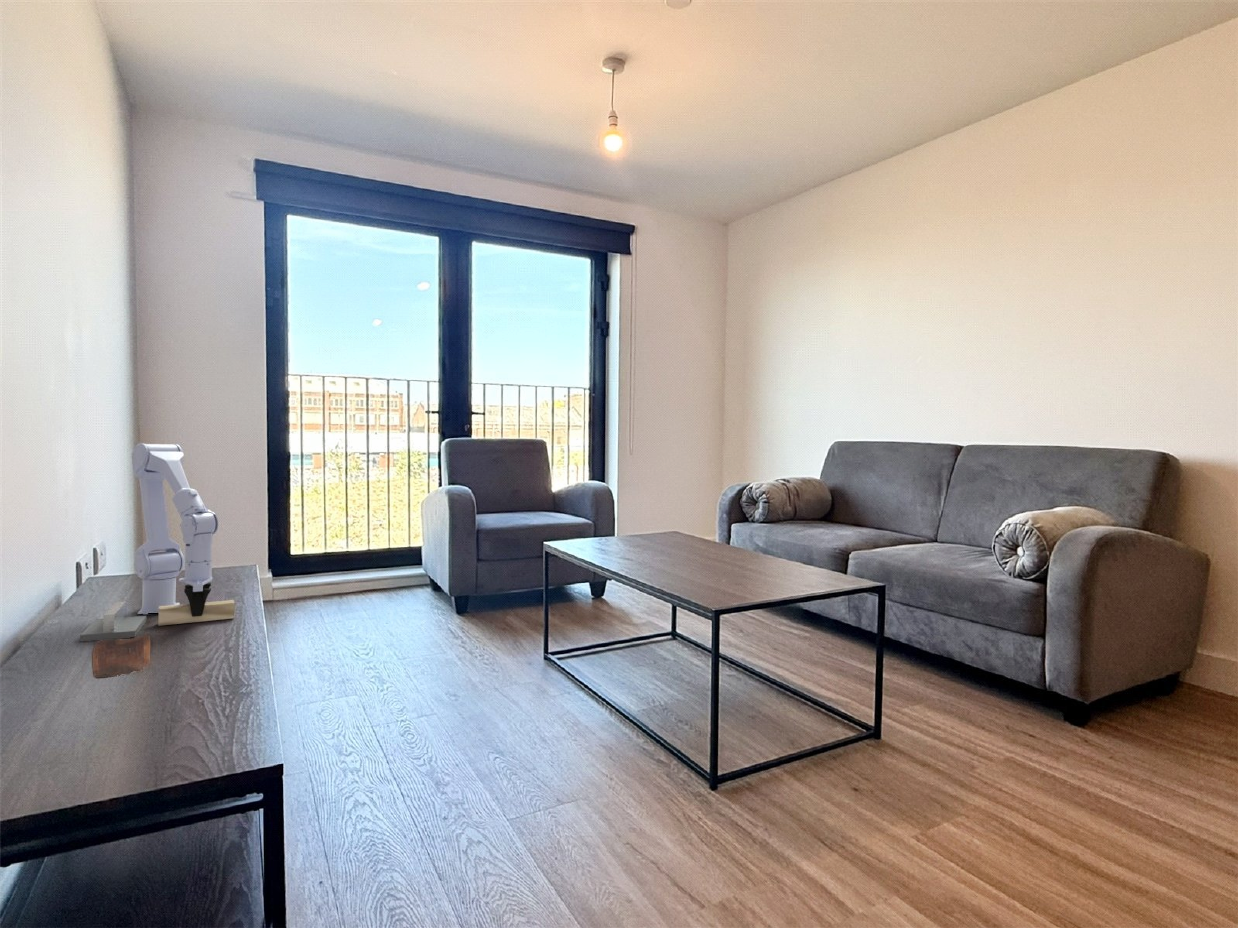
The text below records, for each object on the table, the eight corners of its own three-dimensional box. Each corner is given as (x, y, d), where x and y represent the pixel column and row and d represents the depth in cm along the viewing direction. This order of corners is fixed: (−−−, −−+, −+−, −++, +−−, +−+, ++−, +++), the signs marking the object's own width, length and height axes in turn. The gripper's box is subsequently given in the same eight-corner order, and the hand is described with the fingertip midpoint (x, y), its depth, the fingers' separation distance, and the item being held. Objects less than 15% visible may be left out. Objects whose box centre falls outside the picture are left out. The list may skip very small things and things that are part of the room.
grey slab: (96, 625, 160) (96, 619, 160) (146, 621, 164) (146, 615, 164) (80, 641, 147) (80, 635, 147) (134, 637, 152) (135, 631, 152)
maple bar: (158, 622, 163) (158, 606, 163) (233, 615, 173) (233, 600, 173) (158, 625, 161) (158, 609, 161) (234, 618, 170) (234, 602, 170)
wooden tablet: (151, 667, 131) (87, 669, 126) (149, 678, 131) (85, 681, 125) (151, 633, 153) (96, 634, 147) (149, 643, 153) (95, 644, 147)
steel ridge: (116, 618, 161) (116, 601, 161) (126, 617, 162) (126, 601, 162) (103, 632, 150) (103, 615, 150) (113, 631, 151) (114, 614, 150)
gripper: (180, 556, 170) (178, 608, 171) (178, 566, 158) (177, 623, 158) (212, 555, 174) (211, 606, 174) (213, 564, 162) (211, 620, 162)
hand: (197, 614), depth 167 cm, fingers closed on maple bar, 3 cm apart
